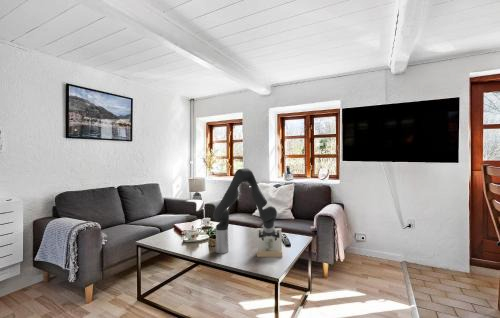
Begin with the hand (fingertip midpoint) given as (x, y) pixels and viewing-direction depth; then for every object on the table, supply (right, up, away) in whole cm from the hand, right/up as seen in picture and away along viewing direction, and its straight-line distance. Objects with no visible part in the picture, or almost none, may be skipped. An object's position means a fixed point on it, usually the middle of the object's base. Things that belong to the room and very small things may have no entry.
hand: (269, 239), depth 176 cm
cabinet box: (+1, -13, +6) cm, 15 cm away
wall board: (+1, -13, +7) cm, 15 cm away
